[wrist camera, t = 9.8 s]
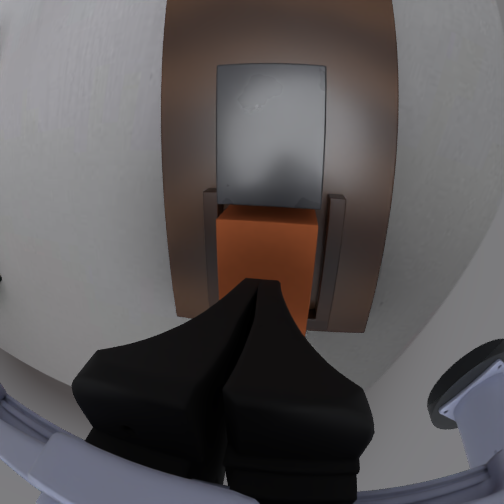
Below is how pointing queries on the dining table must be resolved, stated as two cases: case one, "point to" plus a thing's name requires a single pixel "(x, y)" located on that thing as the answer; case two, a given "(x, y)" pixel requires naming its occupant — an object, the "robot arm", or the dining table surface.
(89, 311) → the dining table surface
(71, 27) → the dining table surface
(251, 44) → the board
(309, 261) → the terracotta pad
